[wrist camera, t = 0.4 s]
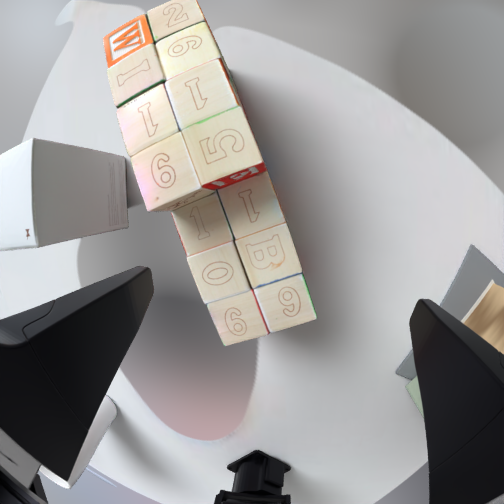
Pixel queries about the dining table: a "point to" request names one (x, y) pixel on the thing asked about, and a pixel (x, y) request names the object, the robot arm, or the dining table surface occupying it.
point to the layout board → (463, 295)
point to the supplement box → (59, 194)
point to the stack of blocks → (205, 170)
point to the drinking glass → (88, 443)
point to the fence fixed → (490, 318)
